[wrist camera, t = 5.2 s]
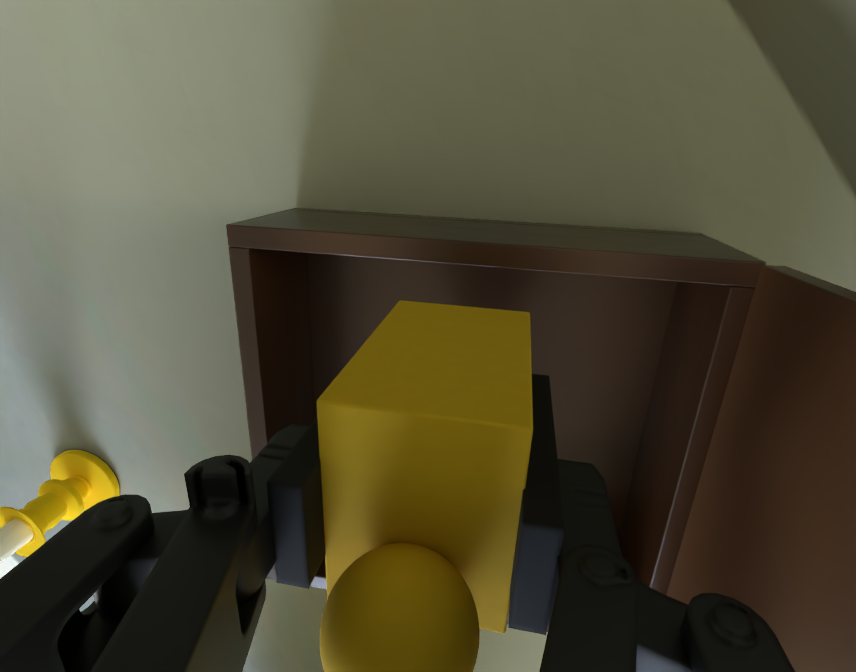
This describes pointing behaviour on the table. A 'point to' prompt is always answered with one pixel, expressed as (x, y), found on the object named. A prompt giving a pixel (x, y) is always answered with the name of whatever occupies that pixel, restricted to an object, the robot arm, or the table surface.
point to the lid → (784, 474)
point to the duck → (424, 487)
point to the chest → (550, 336)
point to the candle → (56, 501)
